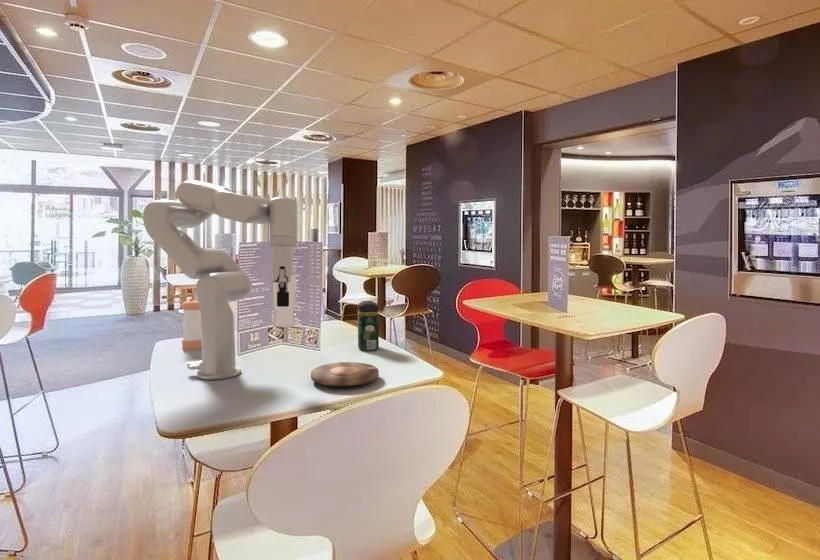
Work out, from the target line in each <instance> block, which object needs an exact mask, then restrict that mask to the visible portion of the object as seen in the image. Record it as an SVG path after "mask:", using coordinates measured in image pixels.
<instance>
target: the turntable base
mask: <svg viewBox="0 0 820 560" xmlns="http://www.w3.org/2000/svg"><path fill="white" fill-rule="evenodd" d="M366 384H367V383H364V384H359V385H352V386H330V385H324V384H322V385H324V386H326V387H329V388H335V389H350V388H357V387H361V386H364V385H366Z"/></svg>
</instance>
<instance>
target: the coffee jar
mask: <svg viewBox="0 0 820 560" xmlns="http://www.w3.org/2000/svg"><path fill="white" fill-rule="evenodd" d="M379 338H380V337H379V305H378V303H377V302H375V301H373V300H361V301H360V302H359V303H358V304H357V347H358V349H359V351H363V352H364V351H365V352H372V351H376V350H378V349H379V346H380V345H379V341H380V340H379Z"/></svg>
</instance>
